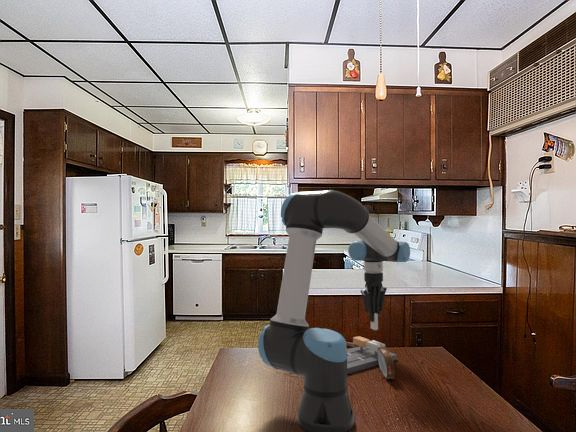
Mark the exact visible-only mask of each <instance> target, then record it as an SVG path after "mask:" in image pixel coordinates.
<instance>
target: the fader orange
mask: <svg viewBox="0 0 576 432" xmlns="http://www.w3.org/2000/svg"><path fill="white" fill-rule="evenodd" d="M368 341H371V340H370V339H369V338H366V337H362V335H361V336H360V335H359V336H358V335H357V336H353V337H352V344H353V345H355V346H357V347H360V350H363V348H364V347H367V342H368Z"/></svg>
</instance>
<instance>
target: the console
mask: <svg viewBox="0 0 576 432" xmlns="http://www.w3.org/2000/svg"><path fill="white" fill-rule="evenodd" d="M347 353H348V357H347V375H348V374H352V373H356V372H359V371H362V370H366V369H370V368H373V367H377V366H379V362H378V352H377V355H375V351H374V350H371V349H369V348H367V347H364V348H363V350H360V346H356V347H351V348H347ZM389 353H390V354H391V356H392V359H393V362H394V361H397V360H398V359H397V354H395V353H393V352H390V351H389Z"/></svg>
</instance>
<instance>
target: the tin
mask: <svg viewBox="0 0 576 432" xmlns="http://www.w3.org/2000/svg"><path fill="white" fill-rule="evenodd" d="M389 352H390V351H389V350H388V348H387V346H385V347H378V362H379V365H378V366H379V369H380V371H381V374H382V375H383V377H384V378H385V380H394V379H395V365H394V361H393V359H392V356H391V354H390V353H389Z"/></svg>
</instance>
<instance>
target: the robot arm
mask: <svg viewBox="0 0 576 432" xmlns="http://www.w3.org/2000/svg"><path fill="white" fill-rule="evenodd" d="M280 218H282V219H281V222H282V224H283V226H284V227H285V233H286V234H287V236H288V243H287V249H286V255H285V259H284V260H285V261H284V265H283V266H284V267H283V272H282V276H281V277H282V278H281V279H282V280H281V285H280V292H279V297H278V303H277V309H276V314H275V315H274V316H272V317H271V318H270V320H269V324H268V325H265V326H264V327H263V329H262V331H261V332H260V334H259V336H258V342H257V350H258V354H259V357H260V358H261V360H262V362H263V363H264V364H265V365H267V366H270V367H271V368H274V370H281V371H284V372H287V373H290V374H294V375H298V376H301V377H303V392H302V396H301V398H300V403H299V406H298V408H297V423H298V426H300V427H301V428H302V429H303V430H305V431H306V432H348V431H350V430H351V429H352V428H353V426H354V425H355V414H354V410H353V406H352V403H351V400H350V397H349V394H348V374H347V357H348V353H347V349H348V348H347V347H348V346H347V341H346V339H345V337H344V336H343V335H342V334H341V333H340V332H337V331H335V330H332V329H329V328H320V327H311V328H310V327H309V326H310V325H309V323H308V322H307V320H306V311H307V307H308V306H307V305H308V299H309V294H310V293H309V292H310V286H311V285H310V284H311V278H312V271H313V265H314V259H315V252H316V245H317V241H318V240H319V239H320V238H321V237H322V236H323V231H324V229H339V230H343V231H345V232H346V233H348V234H354V235H355V236H356V237H358V238H359V239H360V240H356V241H353V242H351V243H350V245H349V246H348V250H347V251H348V255H349V256H348V257H350V259H351V260H354V261H356V262H359V261H363V263H364V264H363V265H364V266H363V267H364V268H363V270H364V274H363V275H364V282H365V285H364V288H363V289H360V294H361V295H362V296H361V297H362V300H363V305H364V310H365V312H366V313H368V314H369V322H370V329H371V330H373V331H378V330H379V319H380V318H379V317H380V316H379V315H380V314H381V313H382V312H383V309H384V304H385V302H384V301H385V295H386V292H387V289H388V288H387V287H384V286H383V283H382V282H383V281H384V273H383V271H384V267H383V266H384V265H383V262H389V263H390V262H391V263H407V262H408V261H409V259H410V256H411V247H410V245H409V243H408V242H406V241H398V240H396V239H395V238H394V237H393V236H391V234H390V233H389V232H388V231H386V230H385V228H383V227H382V226H381V225H380V224H379V223H378V222H377V221H376V220H374V218H373V217H372V216H370V212H369V210H368V208H367V207H365V205H363V204H362V203H361V202H360V201H359V200H357V199H356V198H354V197H352V196H350V195H348V194H346V193H344V192H341V191H338V190H334V189H329V190H328V189H327V190H313V191H302V190H301V191H298V192H294V193H293V192H292V193H291V194H289V195H288V196H286V198H285V199H284V200H283V203H282V204H281V208H280Z"/></svg>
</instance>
